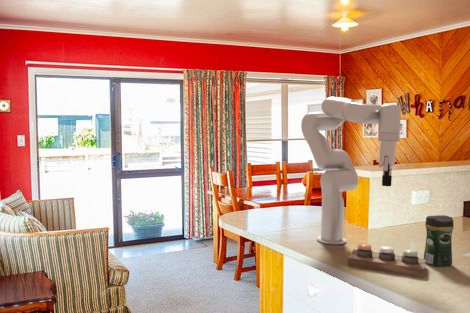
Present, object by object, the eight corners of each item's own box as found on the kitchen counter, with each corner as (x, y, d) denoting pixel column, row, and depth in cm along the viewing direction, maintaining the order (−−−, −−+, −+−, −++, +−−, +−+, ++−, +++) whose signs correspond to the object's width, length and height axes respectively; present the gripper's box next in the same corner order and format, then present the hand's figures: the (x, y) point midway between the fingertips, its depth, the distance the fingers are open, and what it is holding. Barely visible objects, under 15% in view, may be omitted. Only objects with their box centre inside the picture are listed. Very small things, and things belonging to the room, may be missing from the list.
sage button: (403, 251, 163) (403, 248, 163) (417, 253, 161) (418, 250, 161) (402, 255, 158) (402, 252, 158) (417, 257, 156) (417, 254, 156)
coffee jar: (441, 259, 173) (443, 213, 171) (455, 266, 165) (458, 217, 164) (419, 261, 171) (422, 213, 169) (432, 267, 163) (435, 218, 162)
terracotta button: (359, 245, 170) (359, 242, 169) (372, 247, 168) (372, 244, 167) (357, 249, 165) (357, 245, 165) (370, 250, 163) (370, 247, 163)
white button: (381, 248, 166) (381, 245, 166) (394, 250, 164) (394, 247, 164) (379, 252, 162) (379, 248, 162) (393, 254, 160) (393, 250, 160)
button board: (353, 256, 174) (353, 244, 174) (425, 267, 163) (425, 254, 163) (347, 265, 164) (348, 252, 163) (423, 277, 153) (424, 263, 152)
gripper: (381, 136, 175) (378, 182, 177) (375, 137, 162) (373, 187, 163) (401, 137, 172) (398, 184, 173) (397, 138, 158) (395, 189, 160)
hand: (386, 185), depth 168 cm, fingers closed
